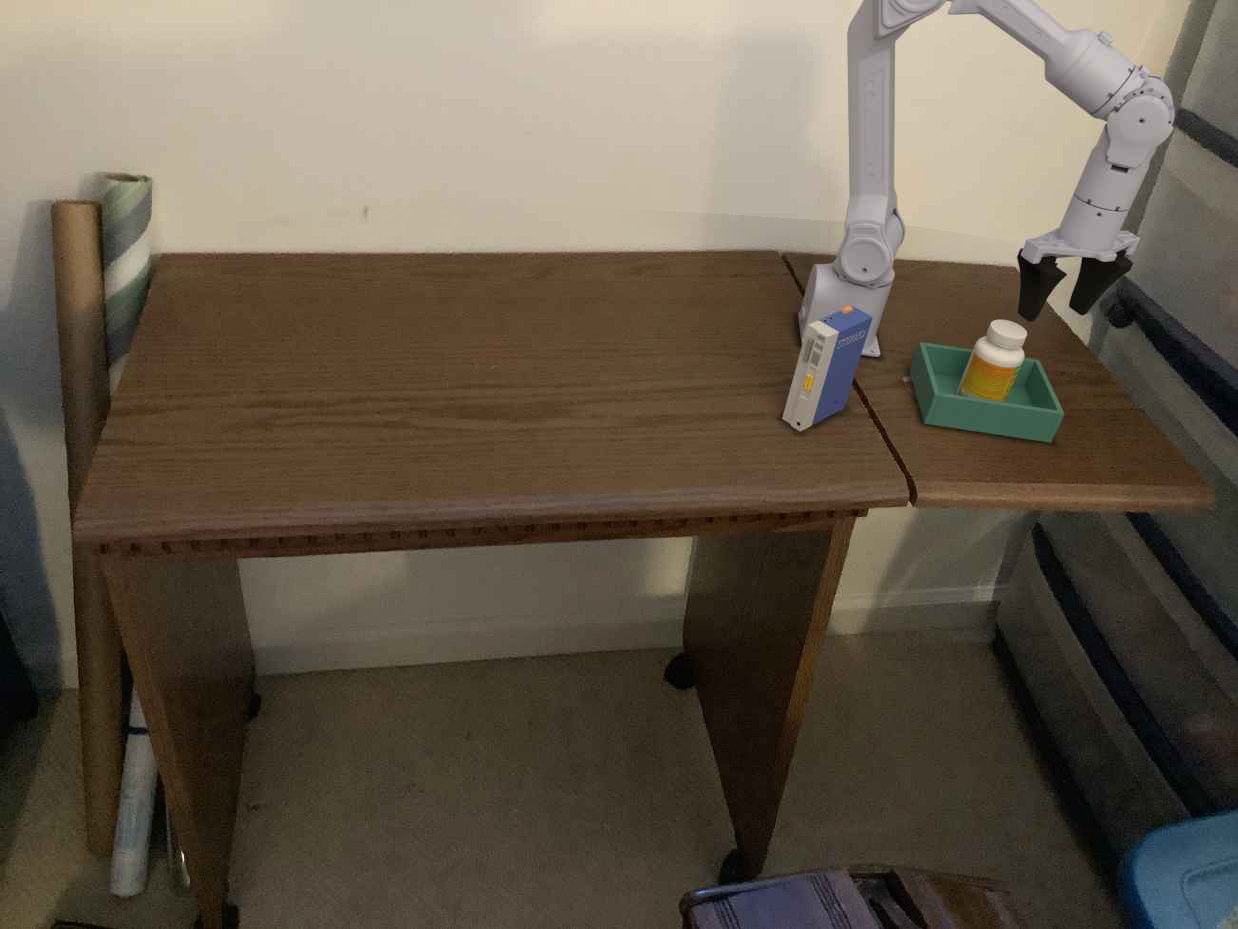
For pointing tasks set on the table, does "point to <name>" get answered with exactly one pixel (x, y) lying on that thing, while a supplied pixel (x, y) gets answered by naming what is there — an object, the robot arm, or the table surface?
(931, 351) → the tray
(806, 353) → the walkman
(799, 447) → the table surface
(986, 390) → the supplement bottle
